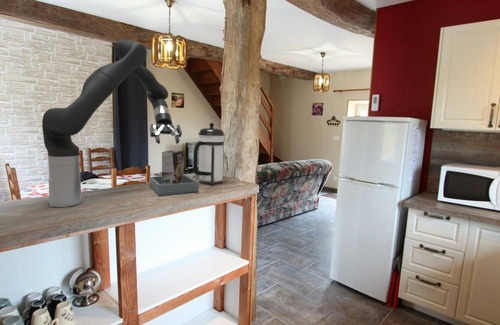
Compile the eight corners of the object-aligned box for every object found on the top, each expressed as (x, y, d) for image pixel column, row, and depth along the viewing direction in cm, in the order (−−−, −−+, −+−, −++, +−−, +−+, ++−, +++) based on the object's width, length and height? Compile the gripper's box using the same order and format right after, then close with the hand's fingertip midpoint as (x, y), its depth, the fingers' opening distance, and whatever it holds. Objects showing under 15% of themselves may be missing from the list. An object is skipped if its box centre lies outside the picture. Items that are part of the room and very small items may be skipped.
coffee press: (193, 179, 152) (194, 121, 148) (223, 179, 155) (225, 123, 151) (193, 187, 136) (193, 122, 131) (227, 187, 139) (229, 123, 134)
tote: (159, 196, 118) (158, 185, 117) (149, 186, 134) (149, 176, 133) (198, 192, 126) (198, 182, 125) (185, 183, 142) (185, 174, 141)
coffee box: (175, 190, 125) (175, 152, 123) (161, 188, 126) (161, 151, 124) (183, 185, 134) (184, 150, 131) (170, 184, 135) (170, 149, 133)
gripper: (148, 111, 137) (153, 137, 129) (178, 112, 144) (185, 137, 136) (146, 122, 142) (151, 148, 134) (175, 123, 149) (182, 147, 141)
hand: (168, 142), depth 135 cm, fingers open, 8 cm apart
